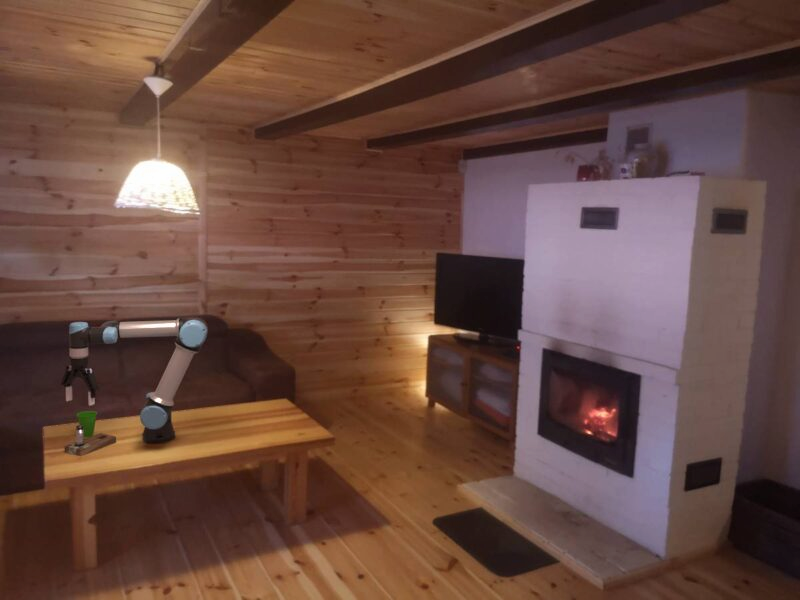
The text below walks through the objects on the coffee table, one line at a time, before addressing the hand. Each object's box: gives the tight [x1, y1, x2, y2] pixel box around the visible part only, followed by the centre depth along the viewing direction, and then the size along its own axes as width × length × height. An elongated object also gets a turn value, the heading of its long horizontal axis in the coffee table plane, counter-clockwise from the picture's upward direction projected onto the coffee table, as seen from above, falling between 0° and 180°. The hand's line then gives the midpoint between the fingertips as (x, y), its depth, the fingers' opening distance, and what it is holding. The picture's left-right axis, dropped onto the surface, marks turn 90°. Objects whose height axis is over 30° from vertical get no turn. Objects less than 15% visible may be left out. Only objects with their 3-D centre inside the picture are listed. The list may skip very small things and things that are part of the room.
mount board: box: [63, 432, 117, 457], centre depth 293 cm, size 10×20×3 cm, turn 158°
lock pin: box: [75, 424, 85, 447], centre depth 287 cm, size 3×3×12 cm
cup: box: [76, 410, 98, 438], centre depth 308 cm, size 9×9×11 cm
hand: (80, 402), depth 285 cm, fingers open, 13 cm apart
